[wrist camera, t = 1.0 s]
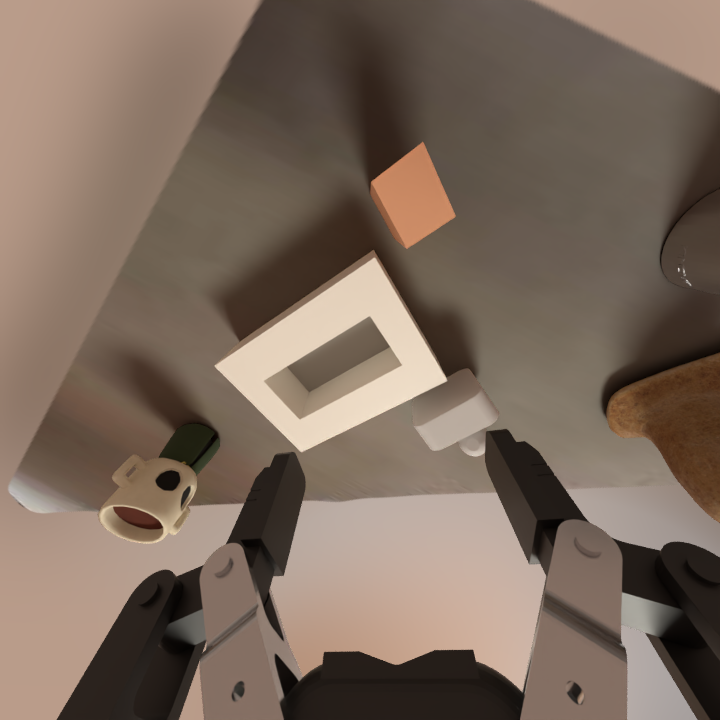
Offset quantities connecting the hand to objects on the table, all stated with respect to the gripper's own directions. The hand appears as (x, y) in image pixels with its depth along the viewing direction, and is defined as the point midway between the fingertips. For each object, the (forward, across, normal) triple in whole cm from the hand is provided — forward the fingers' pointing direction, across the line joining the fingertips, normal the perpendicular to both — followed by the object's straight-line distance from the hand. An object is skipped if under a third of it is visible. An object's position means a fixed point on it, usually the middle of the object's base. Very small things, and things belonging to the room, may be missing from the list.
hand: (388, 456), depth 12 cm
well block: (+21, +6, +4) cm, 22 cm away
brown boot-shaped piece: (+22, -34, +18) cm, 44 cm away
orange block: (+21, -3, -9) cm, 24 cm away
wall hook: (+22, -8, +15) cm, 27 cm away
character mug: (+21, +29, +15) cm, 39 cm away
